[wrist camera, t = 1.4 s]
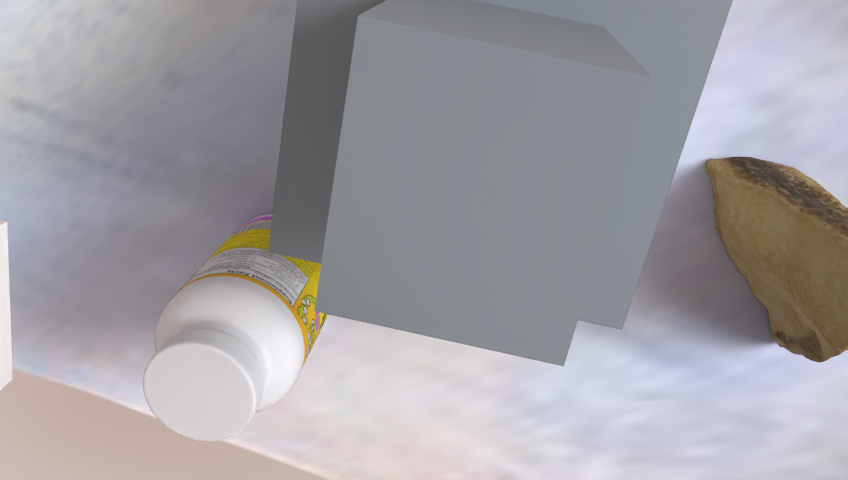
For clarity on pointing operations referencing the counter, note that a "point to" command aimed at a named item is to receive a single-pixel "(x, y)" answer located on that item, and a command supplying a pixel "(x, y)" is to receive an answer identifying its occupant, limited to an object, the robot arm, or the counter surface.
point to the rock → (787, 250)
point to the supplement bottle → (233, 337)
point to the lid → (486, 159)
